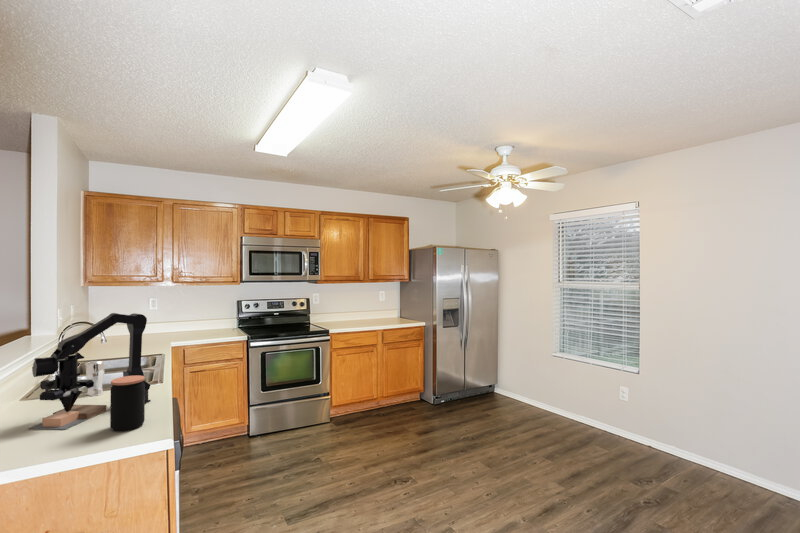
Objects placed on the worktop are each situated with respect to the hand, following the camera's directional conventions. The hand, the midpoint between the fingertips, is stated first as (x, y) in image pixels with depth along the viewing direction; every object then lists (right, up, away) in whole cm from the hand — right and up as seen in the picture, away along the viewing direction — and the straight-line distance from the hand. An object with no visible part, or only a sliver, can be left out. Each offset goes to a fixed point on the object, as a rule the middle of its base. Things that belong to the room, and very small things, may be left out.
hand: (67, 411), depth 158 cm
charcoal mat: (0, -4, -4) cm, 5 cm away
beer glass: (-15, -4, +33) cm, 37 cm away
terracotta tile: (0, -3, -3) cm, 5 cm away
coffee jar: (+28, -4, -6) cm, 29 cm away
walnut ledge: (0, -4, +6) cm, 7 cm away
